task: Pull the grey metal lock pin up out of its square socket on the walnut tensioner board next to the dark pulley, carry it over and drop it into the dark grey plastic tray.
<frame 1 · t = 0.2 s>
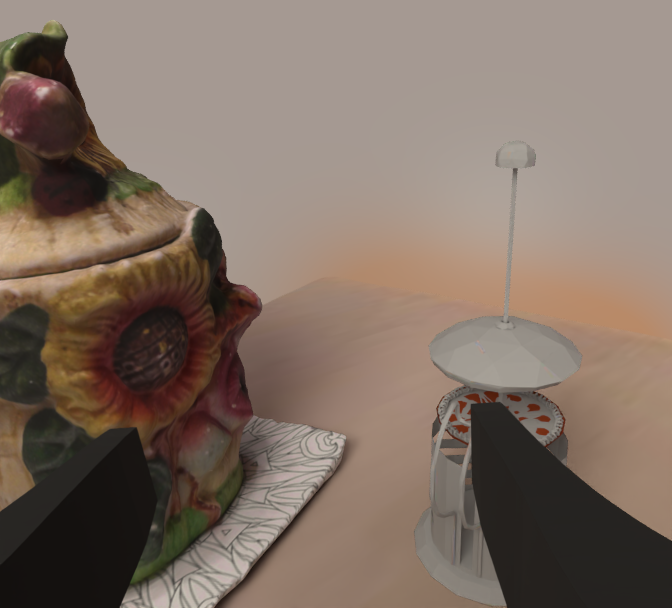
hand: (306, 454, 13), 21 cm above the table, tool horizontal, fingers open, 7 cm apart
cookie jar: (129, 508, 43), on the table
french press: (485, 553, 38), on the table
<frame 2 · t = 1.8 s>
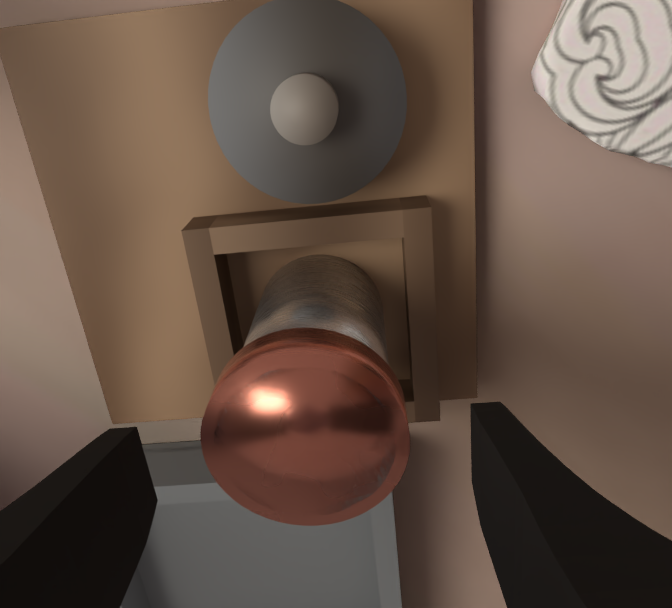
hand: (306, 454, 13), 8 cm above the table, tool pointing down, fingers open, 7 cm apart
lock pin: (321, 312, 20), point 1 cm above the table, touching tensioner board
tray: (258, 551, 25), on the table
tensioner board: (267, 225, 19), on the table
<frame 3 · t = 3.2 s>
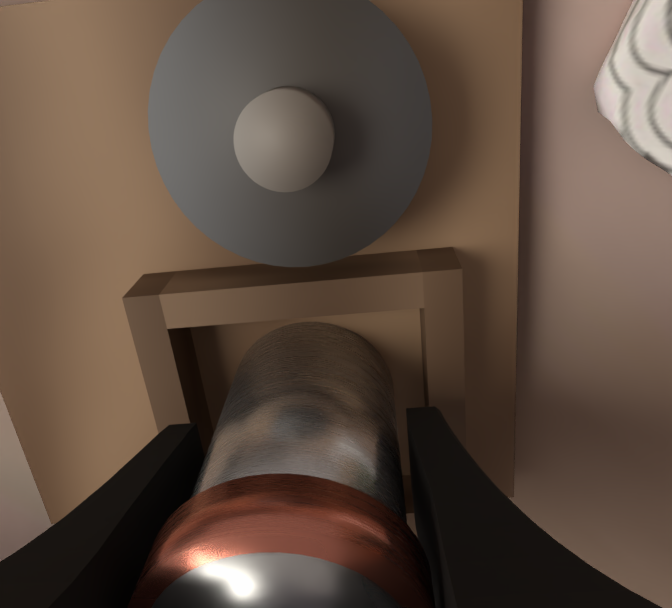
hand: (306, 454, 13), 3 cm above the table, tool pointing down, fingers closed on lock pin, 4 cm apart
lock pin: (313, 393, 15), point 1 cm above the table, touching gripper, tensioner board
tensioner board: (243, 280, 15), on the table
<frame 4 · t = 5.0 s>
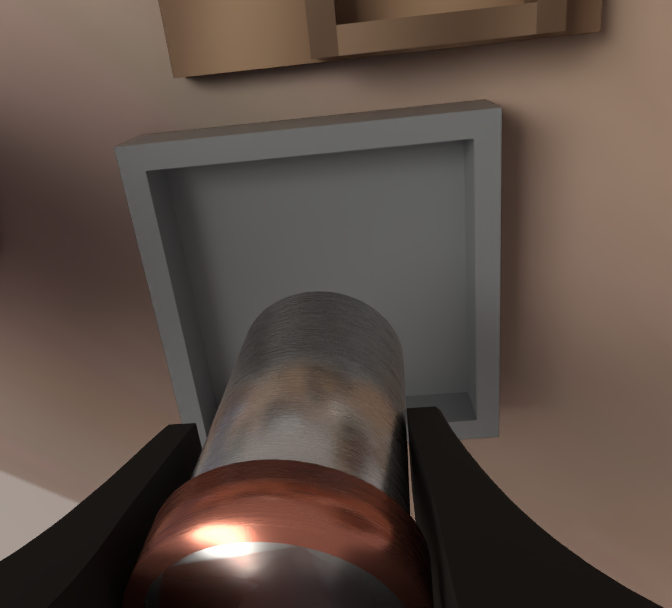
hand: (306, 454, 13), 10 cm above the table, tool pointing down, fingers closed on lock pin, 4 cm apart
lock pin: (322, 362, 15), point 8 cm above the table, tilted 6°, touching gripper
tray: (328, 278, 22), on the table
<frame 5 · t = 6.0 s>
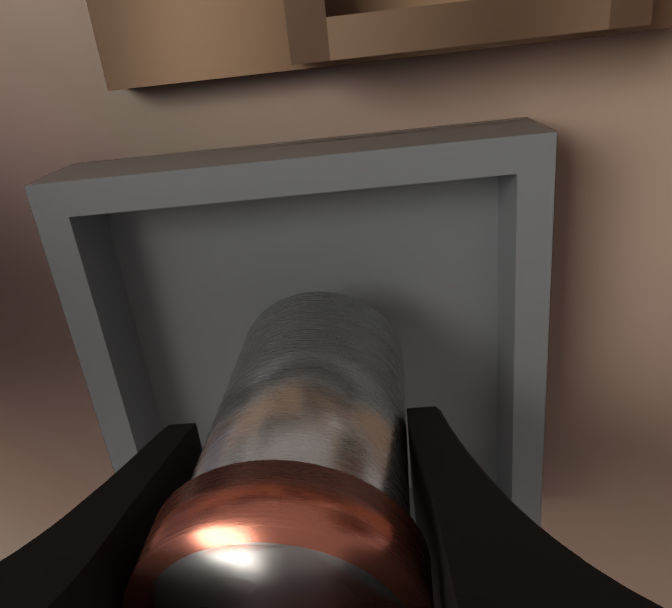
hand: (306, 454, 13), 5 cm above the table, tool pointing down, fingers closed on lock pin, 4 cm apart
lock pin: (322, 362, 15), point 3 cm above the table, tilted 6°, touching gripper
tray: (319, 343, 18), on the table
when the fingers open (5 cm above the table, at t = 6.9 s): lock pin drops 2 cm, resting on tray.
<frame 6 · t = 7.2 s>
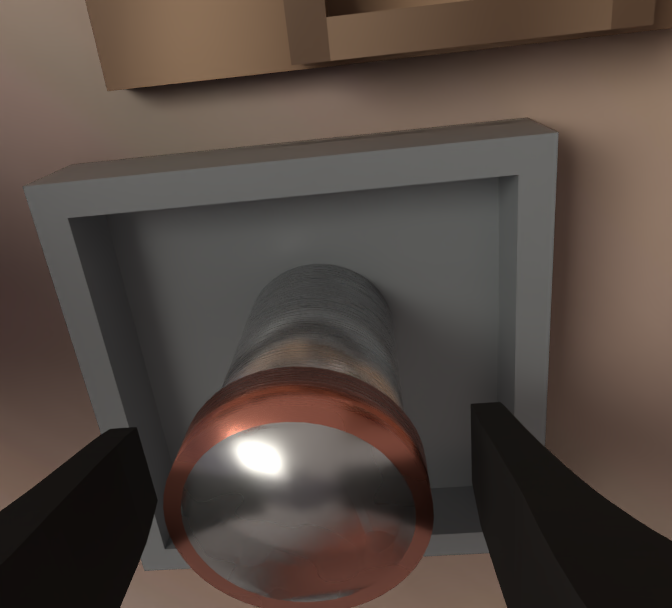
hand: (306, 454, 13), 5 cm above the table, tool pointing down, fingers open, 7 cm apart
lock pin: (321, 331, 17), point 1 cm above the table, touching tray
tray: (319, 344, 17), on the table
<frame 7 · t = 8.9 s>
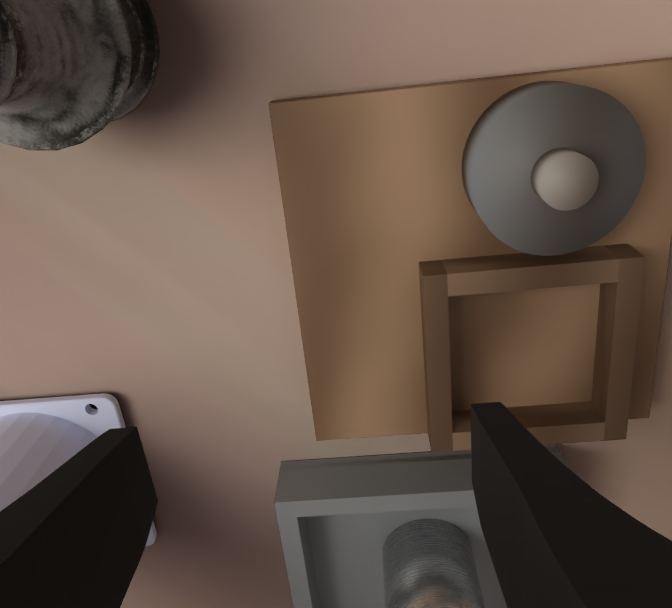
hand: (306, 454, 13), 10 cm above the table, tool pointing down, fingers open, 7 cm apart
lock pin: (426, 552, 27), point 1 cm above the table, touching tray
tray: (422, 554, 28), on the table
tensioner board: (472, 266, 22), on the table
grey tiered figure: (80, 39, 20), on the table
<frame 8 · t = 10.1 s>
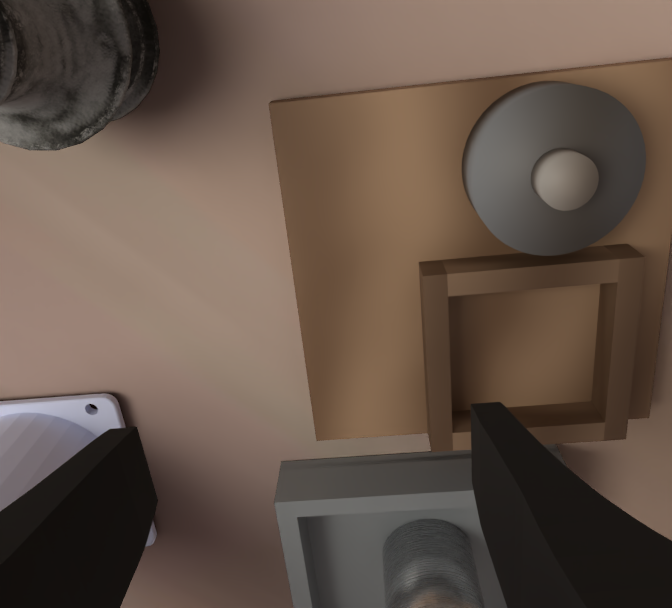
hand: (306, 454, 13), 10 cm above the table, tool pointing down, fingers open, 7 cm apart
lock pin: (426, 553, 27), point 1 cm above the table, touching tray
tray: (422, 554, 28), on the table
tensioner board: (472, 266, 22), on the table
grey tiered figure: (80, 39, 20), on the table
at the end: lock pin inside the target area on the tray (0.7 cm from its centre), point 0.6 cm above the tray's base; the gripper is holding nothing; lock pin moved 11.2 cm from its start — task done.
